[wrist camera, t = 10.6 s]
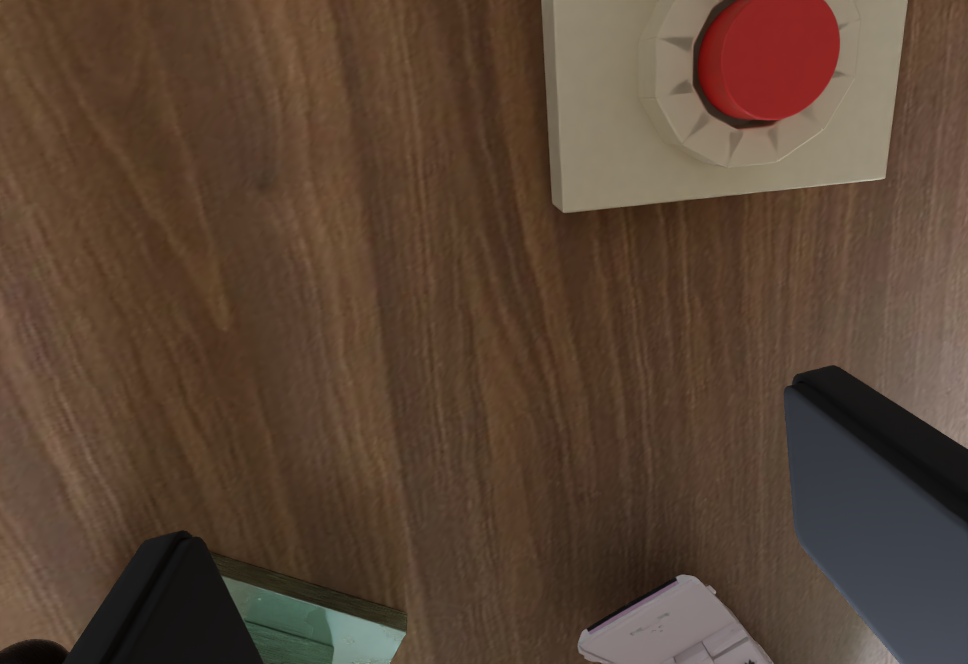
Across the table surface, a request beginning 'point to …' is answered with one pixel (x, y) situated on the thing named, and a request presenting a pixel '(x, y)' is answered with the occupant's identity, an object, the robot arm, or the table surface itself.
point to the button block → (702, 107)
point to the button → (768, 57)
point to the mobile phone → (672, 630)
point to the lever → (34, 653)
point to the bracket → (310, 619)
